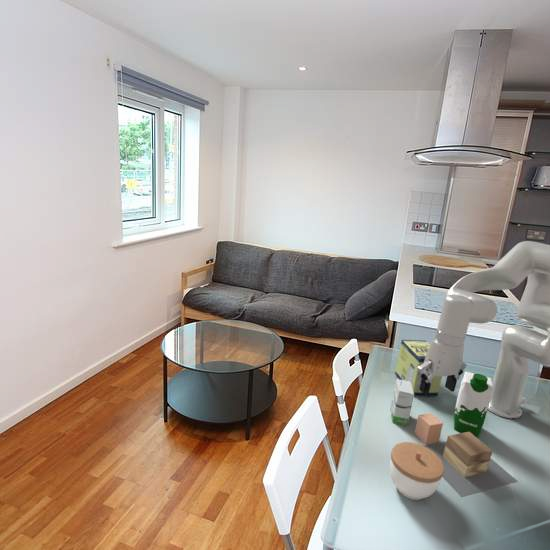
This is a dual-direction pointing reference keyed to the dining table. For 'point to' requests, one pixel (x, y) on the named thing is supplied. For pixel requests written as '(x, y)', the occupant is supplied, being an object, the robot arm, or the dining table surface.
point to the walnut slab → (468, 448)
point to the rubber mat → (472, 483)
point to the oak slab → (461, 466)
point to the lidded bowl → (415, 470)
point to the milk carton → (472, 403)
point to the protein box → (415, 366)
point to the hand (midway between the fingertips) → (436, 390)
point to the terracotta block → (428, 428)
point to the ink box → (401, 402)
